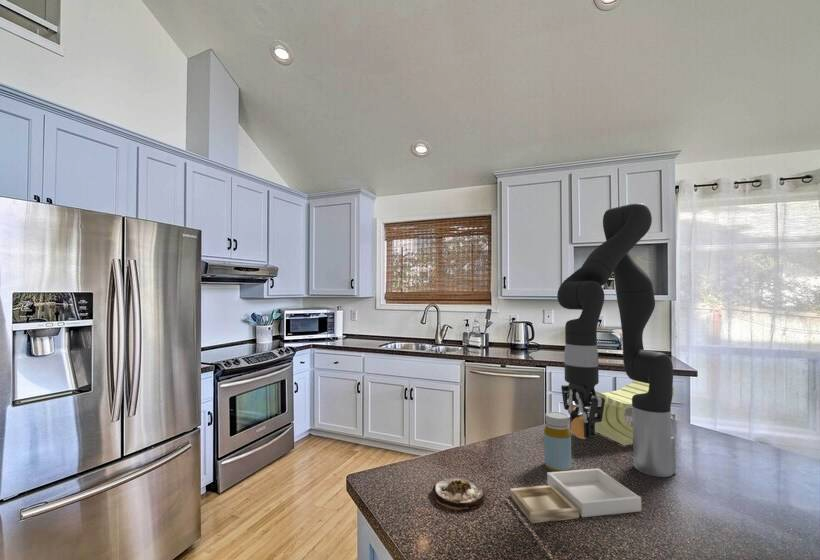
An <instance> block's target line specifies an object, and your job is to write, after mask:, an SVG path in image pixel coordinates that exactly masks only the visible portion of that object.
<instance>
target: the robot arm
mask: <svg viewBox="0 0 820 560" xmlns="http://www.w3.org/2000/svg"><path fill="white" fill-rule="evenodd" d="M652 219H653V218H652V213H651V210H650V208H649V207H648V206H647V205H646V204H645V203H642V202H641V203H640V202H636V203H629V204H625V205H621V206H618V207H612V208H609V209H607V210H606V211H605V212H604V214H603V217H602V228H603V232H604V237H605V241H604V242H602V243H601V244H600V245H598V246H597V247H596V248H595V249H594V250H593V251H591V253H590V254H589V255H588V256H587V258H586V259H585V261H584V262H583V264H582V265H581V267H580V268H579V269H577V270H576V271H574V272H572V274H570V275H569V276H568V277H566V278H565V280H563V282H562V283H561V284H560V286H559V288H558V290H557V295H556V296H557V301H558V304H559V305H560V306H561V307H562V308H563V309H565V310H574V311H575V310H578V311H580V310H581V313H580V315H579V317H578V318H574V319H573V318H572V319H570V320H567V321H566V323H565V327H564V331H565V332H564V333H565V336H564V338H565V341H564V343H565V345H564V346H565V347H564V355H563V357H564V381H565V382H566V383H568V385H567V384H566V385H564V384H562V385H561V386H560V387H561V388H560V389H561V395H562V402H563V408H564V410H565V411H567V412H568V414H569V425H570V428H569V430H571V422H572V421H573V419H575V418H576V417H581V415H580V412H581V413H582V417H584V421H585V422H584V437H585V438H586V440H593V439H595V436H596V433H595V423H596V422H602V416H603V410H604V404H605V399H604V398H599V397H598V396H596V392H597V391H596V389H595V386H597V385H598V384H599V382H600V381H599V377H600V375H599V352H598V350H599V349H598V340H597V339H598V337H597V336H598V335H597V333H598V332H597V331H598V330H597V329H598V325H599V320H600V318H601V317H600V316H601V312H602V310H603V306H604V304H605V303H604V302H605V291H604V287H602V286H604V285H605V284H606V283H607V282H608V281H609V279H610V278H611V276H612V274H613V278H614V286H615V294H616V295H615V296H616V300H617V306H618V313H619V318H620V326H621V335H622V336H621V338H622V356H623V357H622V358H623V359H622V360H623V368H624V371H625V374H626V375H627V377H628V378H629V379H630V380H632V381H638V382H643V383H648V384H649V390H648V392H647V393H642V394H636V395H634V396H633V397H632V408H631V414H632V415H631V416H632V427H633V445H632V449H633V452H632V453H633V467H634V469H636V471H638V470H639V472H640V473H643V474H645V475H648V476H652V477H658V478H669V477H672V476H673V474H677V467H676V466H677V465H676V463H677V460H676V439H675V437H673V436H672V413H671V412H672V411H671V408H672V402H673V387H674V386H673V385H674V383H673V382H674V365H673V361H672V359H671V357H670V356H669V355H668V354H666V353H665V352H660V351H651V350H646V349H645V348H644V342H643V337H644V336H643V335H644V330H645V327H646V326H647V324H648V322H649V320H650V319H651V317H652V315H653V312H654V311H655V307H656V299H655V291H654V284H653V282H652V280H651V278H650V276H649V275H648V274H647V273H646V271H645V270H644V269H643V268H642V267H641V266H640V265H639V264H638V263H637V261H636V260H634V258H633V256H632V255H631V253H630V251H631V249H632V248H634V247H635V246H636V244H638V242H640V241H641V239H642V238H644V237H645V235H647V233H648V232H649V230H650V229H651V226H652ZM595 391H596V392H595ZM568 399H569V401H568ZM588 407H590V408H588ZM588 413H589V414H588ZM596 413H597V417H596V415H595V414H596Z"/></svg>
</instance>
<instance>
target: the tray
mask: <svg viewBox="0 0 820 560" xmlns="http://www.w3.org/2000/svg"><path fill="white" fill-rule="evenodd" d="M509 496H510V498H511V499H512V500H513V502H514V503H515V504H516V506H518V507H519V509H520V510H521V511H522V513H523V515H525V516H526V518H527V519H528V520H529V521H530V523H531V524H535V523H537V524H538V523H545V522H546V523H547V522H548V523H549V522H555V521H563V520H565V521H567V520H574V519H575V520H576V519H580V515H579V510H578V509H577V508H576V507H575V506H574V505H573V504H572V503H571V502H570V501H569V500H568V499H567V498H566V497H564V496H563V495H562V494H561V493H560V492H559V491H558V490H557V489H556V488H555V487H554V486H553V485H548V484H547V485H535V486H525V487H524V486H523V487H511V488H509Z"/></svg>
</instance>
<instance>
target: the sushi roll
mask: <svg viewBox="0 0 820 560" xmlns="http://www.w3.org/2000/svg"><path fill="white" fill-rule="evenodd" d="M484 491H485V490H484V489H483V487H482V485H481V484H479V483H478V482H477V481H476V480H474V481H472V480H471V479H469V477H460V476H459V477H458V476H454V477H449V478H444V479H441V480H439V481H437V482H435V484H434V485H433V488H432V493H433V496H434V501H435V502H436V503H437V504H438V505H439V507H442V508H444V509H447V508H448V509H447V510H450V509H451V511H453V510H454V511H460V510H461V512H466V511H468V512H470V510H474V509H479V510H482V509H481V508H483V507H482V506H483V505H484V504H485V501H486V493H485V492H484Z"/></svg>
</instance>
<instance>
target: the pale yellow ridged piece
mask: <svg viewBox="0 0 820 560" xmlns="http://www.w3.org/2000/svg"><path fill="white" fill-rule="evenodd" d="M674 388H675V387H674V386H673V396H675V390H674ZM648 390H649V384H648V383H643V382H638V381H635V380H632V383H628V384H626V385H625V386H623V387H620V388H619V389H617V390H613V391H607V392H599V391H596V390H595V392H596V396H598V397H599V398H604V399H605V404H604V410H603V416H602V422H596V423H595V431H596V432H598V433H600V434H602V435H605V436H607V437H609V438H611V439H613V440H615V441H617V442H619V443H621V444H623V445H629V444H633V425H630V423H628V422H627V421H626V418H625V413H626V410H627V409H632V397H633V396H634V395H636V394H642V393H647V392H648ZM673 396H672V397H673ZM568 401H569V399H568V400H567V402H568ZM587 408H590V407H587ZM595 415H596V417H597V413H596V414H595Z"/></svg>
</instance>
